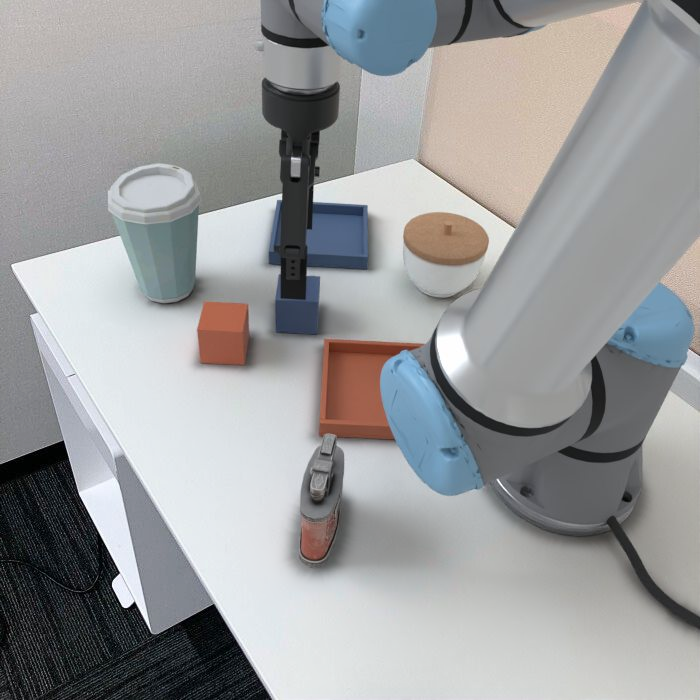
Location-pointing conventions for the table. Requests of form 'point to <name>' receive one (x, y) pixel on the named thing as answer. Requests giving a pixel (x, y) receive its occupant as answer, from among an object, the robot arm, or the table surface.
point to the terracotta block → (223, 333)
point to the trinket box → (443, 252)
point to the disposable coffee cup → (158, 228)
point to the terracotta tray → (355, 387)
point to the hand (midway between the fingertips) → (297, 260)
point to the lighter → (321, 502)
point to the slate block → (298, 309)
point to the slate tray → (330, 236)
